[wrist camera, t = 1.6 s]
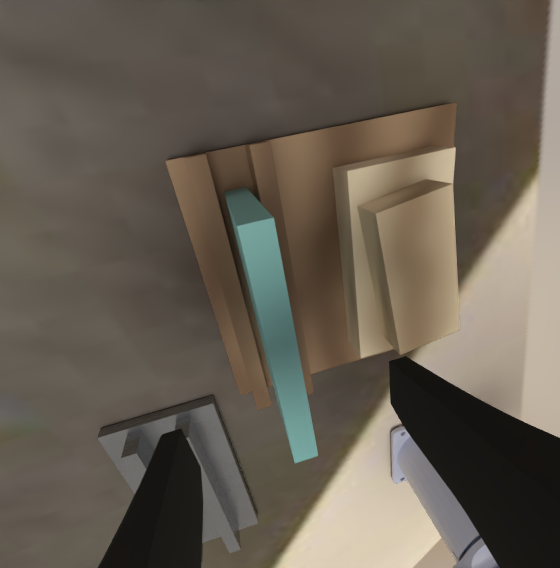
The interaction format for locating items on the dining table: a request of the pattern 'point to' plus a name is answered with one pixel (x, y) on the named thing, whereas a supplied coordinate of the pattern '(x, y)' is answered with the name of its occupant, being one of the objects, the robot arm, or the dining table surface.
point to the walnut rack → (289, 231)
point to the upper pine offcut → (413, 262)
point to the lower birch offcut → (355, 268)
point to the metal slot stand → (209, 453)
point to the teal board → (273, 315)
